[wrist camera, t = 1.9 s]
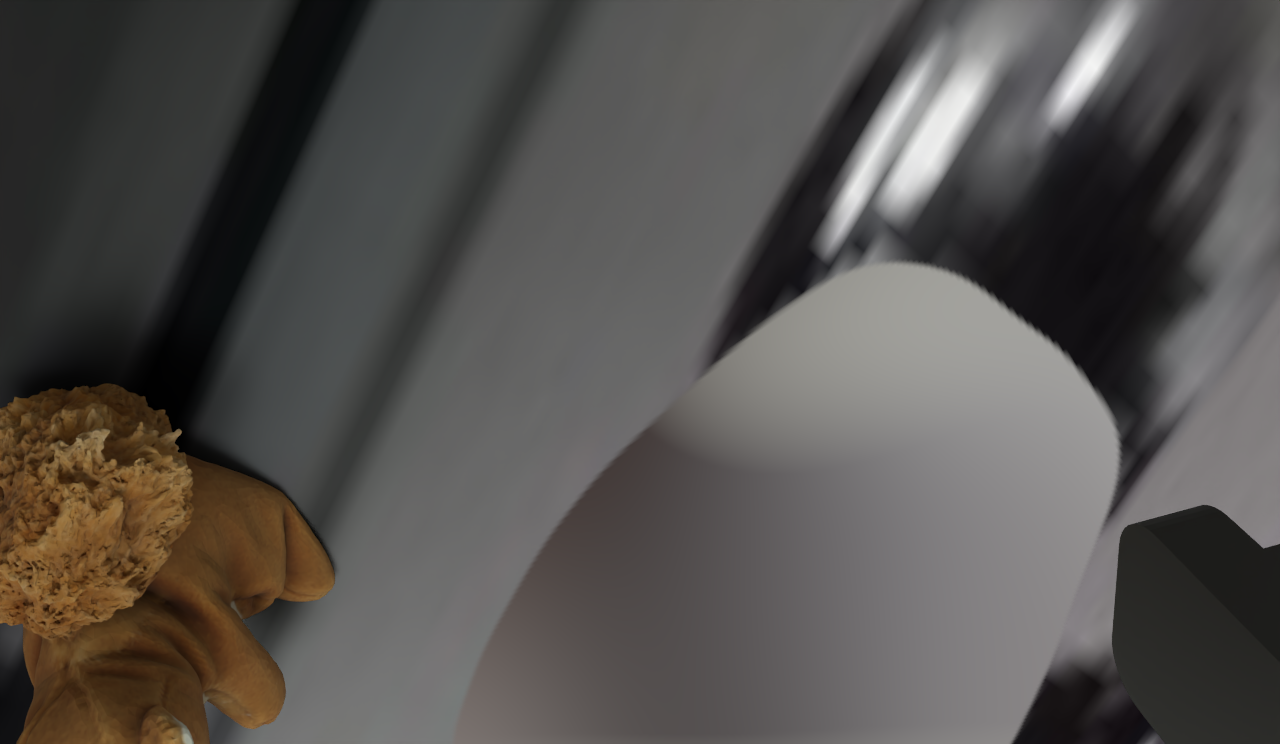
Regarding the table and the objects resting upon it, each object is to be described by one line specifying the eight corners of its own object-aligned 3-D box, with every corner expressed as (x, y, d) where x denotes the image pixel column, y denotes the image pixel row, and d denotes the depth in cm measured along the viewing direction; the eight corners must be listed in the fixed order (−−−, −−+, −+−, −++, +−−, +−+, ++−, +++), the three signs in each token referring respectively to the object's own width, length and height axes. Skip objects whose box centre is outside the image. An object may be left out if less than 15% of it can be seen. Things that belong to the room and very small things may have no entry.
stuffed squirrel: (108, 669, 43) (-33, 992, 31) (-76, 361, 36) (-342, 629, 24) (356, 610, 43) (307, 910, 31) (220, 292, 36) (93, 526, 25)
